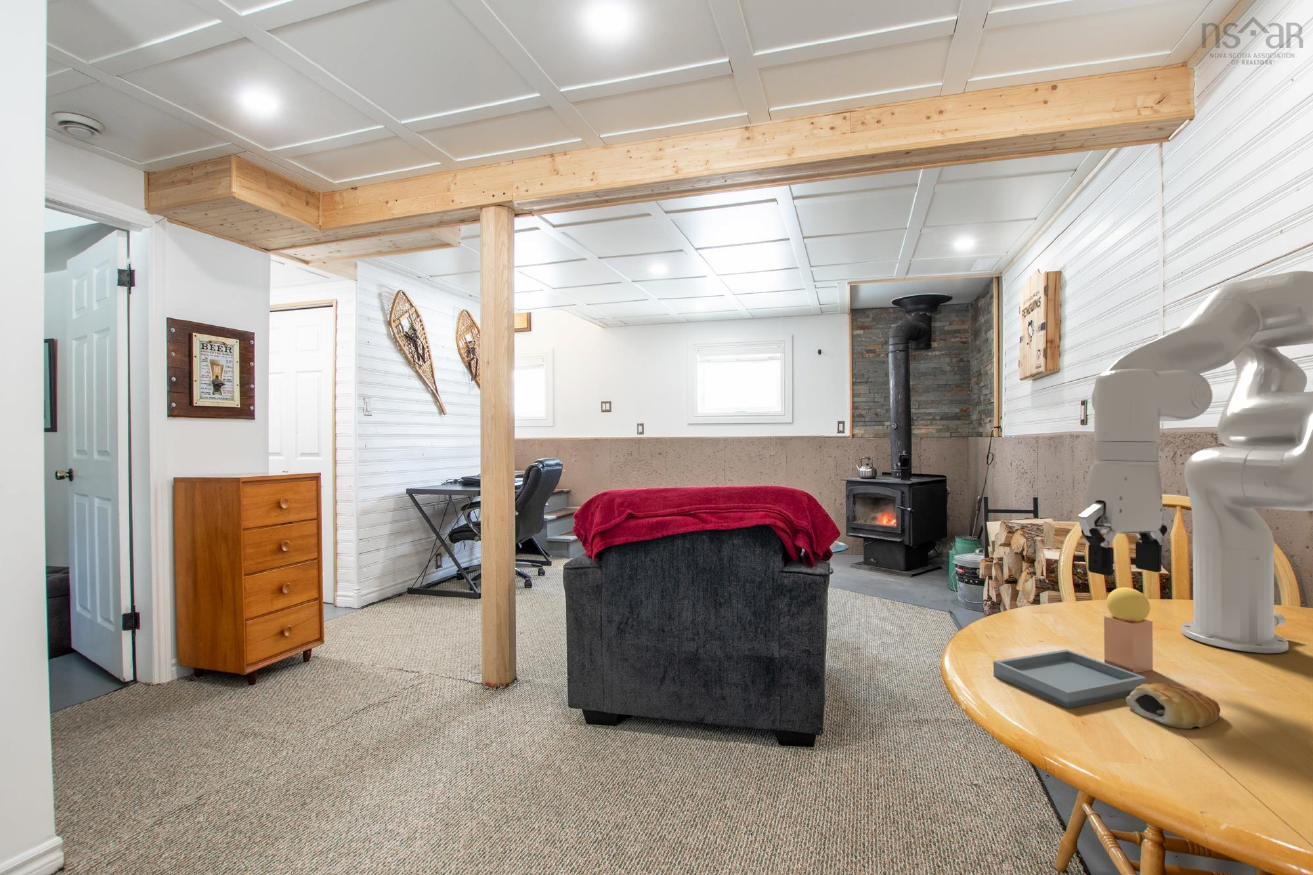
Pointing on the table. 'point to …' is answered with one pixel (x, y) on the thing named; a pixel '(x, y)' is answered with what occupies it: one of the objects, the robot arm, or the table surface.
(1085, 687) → the tray
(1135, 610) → the ball
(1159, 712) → the pastry
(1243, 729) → the table surface
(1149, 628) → the open box
